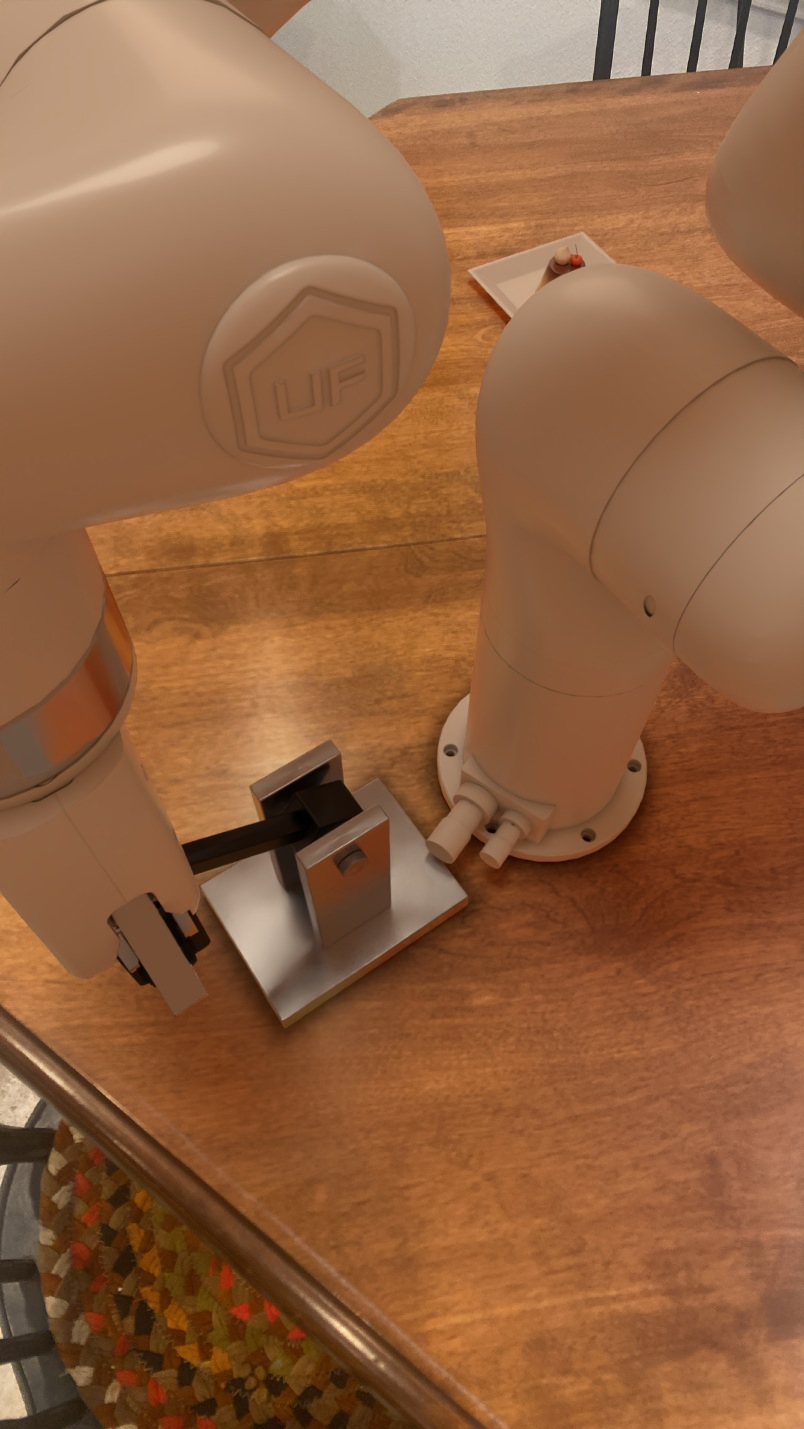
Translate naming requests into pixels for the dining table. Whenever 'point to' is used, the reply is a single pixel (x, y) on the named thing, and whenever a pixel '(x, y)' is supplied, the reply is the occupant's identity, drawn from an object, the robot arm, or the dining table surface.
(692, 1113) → the dining table surface
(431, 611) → the dining table surface
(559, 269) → the dessert
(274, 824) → the lever
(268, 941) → the bracket
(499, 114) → the dining table surface
